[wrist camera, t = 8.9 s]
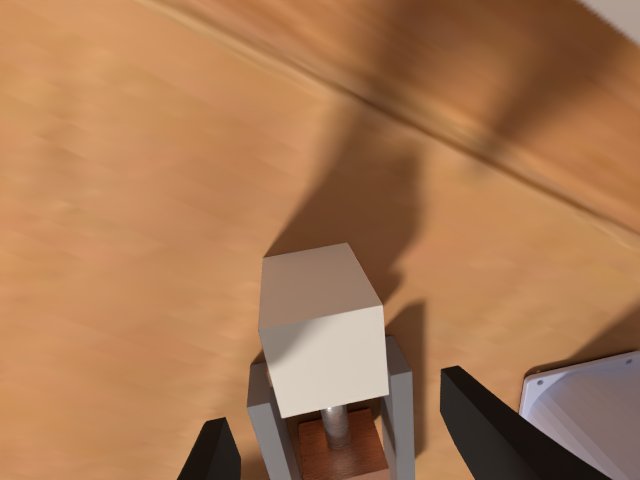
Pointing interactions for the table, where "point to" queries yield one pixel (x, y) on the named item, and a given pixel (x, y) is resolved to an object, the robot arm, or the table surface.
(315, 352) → the block
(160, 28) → the table surface
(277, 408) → the track
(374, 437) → the ram
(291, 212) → the table surface
